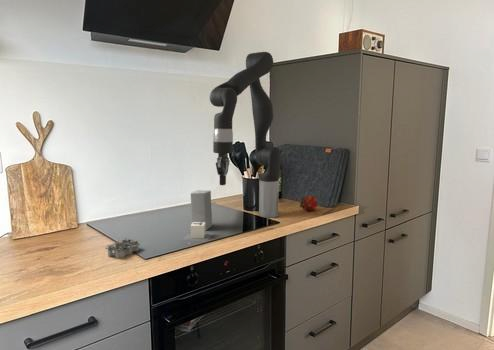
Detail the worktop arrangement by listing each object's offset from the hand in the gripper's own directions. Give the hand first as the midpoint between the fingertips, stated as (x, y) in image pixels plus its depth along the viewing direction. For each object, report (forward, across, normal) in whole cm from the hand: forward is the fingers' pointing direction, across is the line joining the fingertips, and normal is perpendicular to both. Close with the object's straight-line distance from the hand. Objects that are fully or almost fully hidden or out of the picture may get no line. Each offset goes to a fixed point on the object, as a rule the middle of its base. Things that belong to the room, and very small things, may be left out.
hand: (222, 184), depth 142 cm
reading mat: (+20, -4, +9) cm, 23 cm away
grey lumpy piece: (+22, -25, +29) cm, 44 cm away
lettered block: (+20, -4, +9) cm, 23 cm away
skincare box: (+20, +8, +11) cm, 25 cm away
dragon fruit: (+19, +48, -34) cm, 62 cm away
